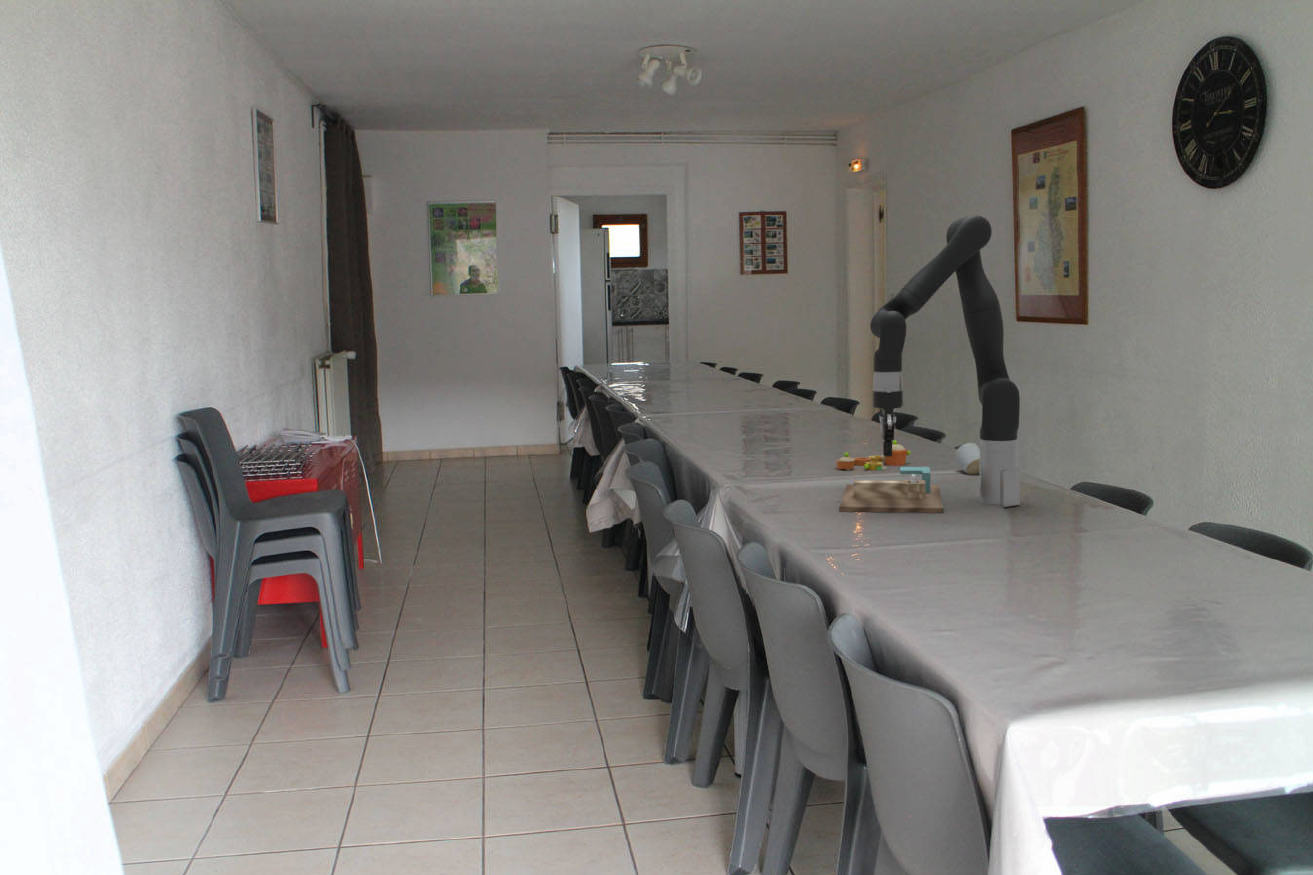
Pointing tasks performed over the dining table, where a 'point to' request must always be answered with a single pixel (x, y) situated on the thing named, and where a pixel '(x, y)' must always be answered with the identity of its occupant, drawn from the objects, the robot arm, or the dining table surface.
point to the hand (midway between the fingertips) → (887, 456)
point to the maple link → (890, 489)
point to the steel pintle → (913, 478)
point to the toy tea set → (875, 459)
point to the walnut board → (892, 503)
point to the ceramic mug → (969, 458)
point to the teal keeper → (919, 470)
